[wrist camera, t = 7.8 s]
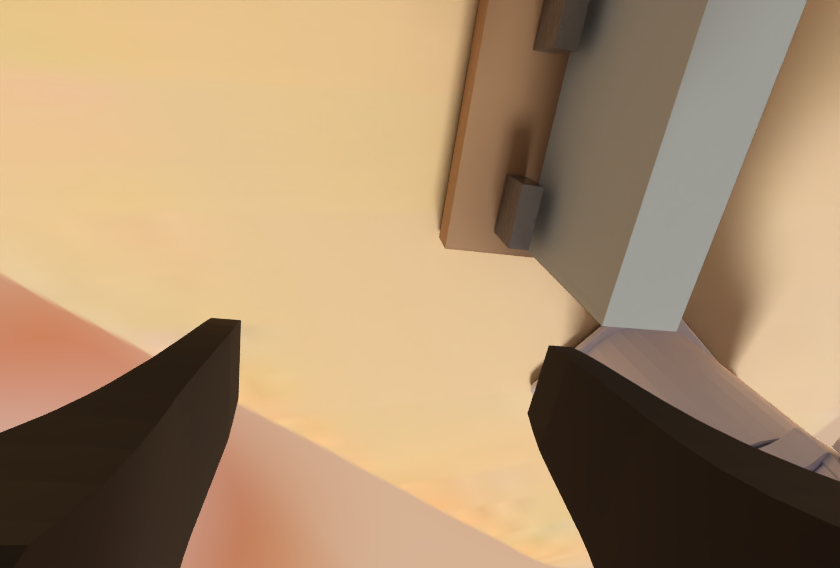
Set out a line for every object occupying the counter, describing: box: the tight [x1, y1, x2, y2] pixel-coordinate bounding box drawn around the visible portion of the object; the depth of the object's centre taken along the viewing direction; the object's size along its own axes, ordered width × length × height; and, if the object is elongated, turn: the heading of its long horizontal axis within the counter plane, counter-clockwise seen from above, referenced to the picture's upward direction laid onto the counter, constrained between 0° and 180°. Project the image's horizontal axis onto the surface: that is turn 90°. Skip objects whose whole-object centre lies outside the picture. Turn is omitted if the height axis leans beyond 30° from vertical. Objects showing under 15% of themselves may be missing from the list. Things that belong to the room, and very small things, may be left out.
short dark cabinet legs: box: [494, 0, 590, 250], centre depth 18 cm, size 5×9×2 cm, turn 172°
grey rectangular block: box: [527, 0, 807, 332], centre depth 15 cm, size 3×10×7 cm, turn 172°
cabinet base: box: [439, 0, 570, 257], centre depth 19 cm, size 9×12×2 cm
